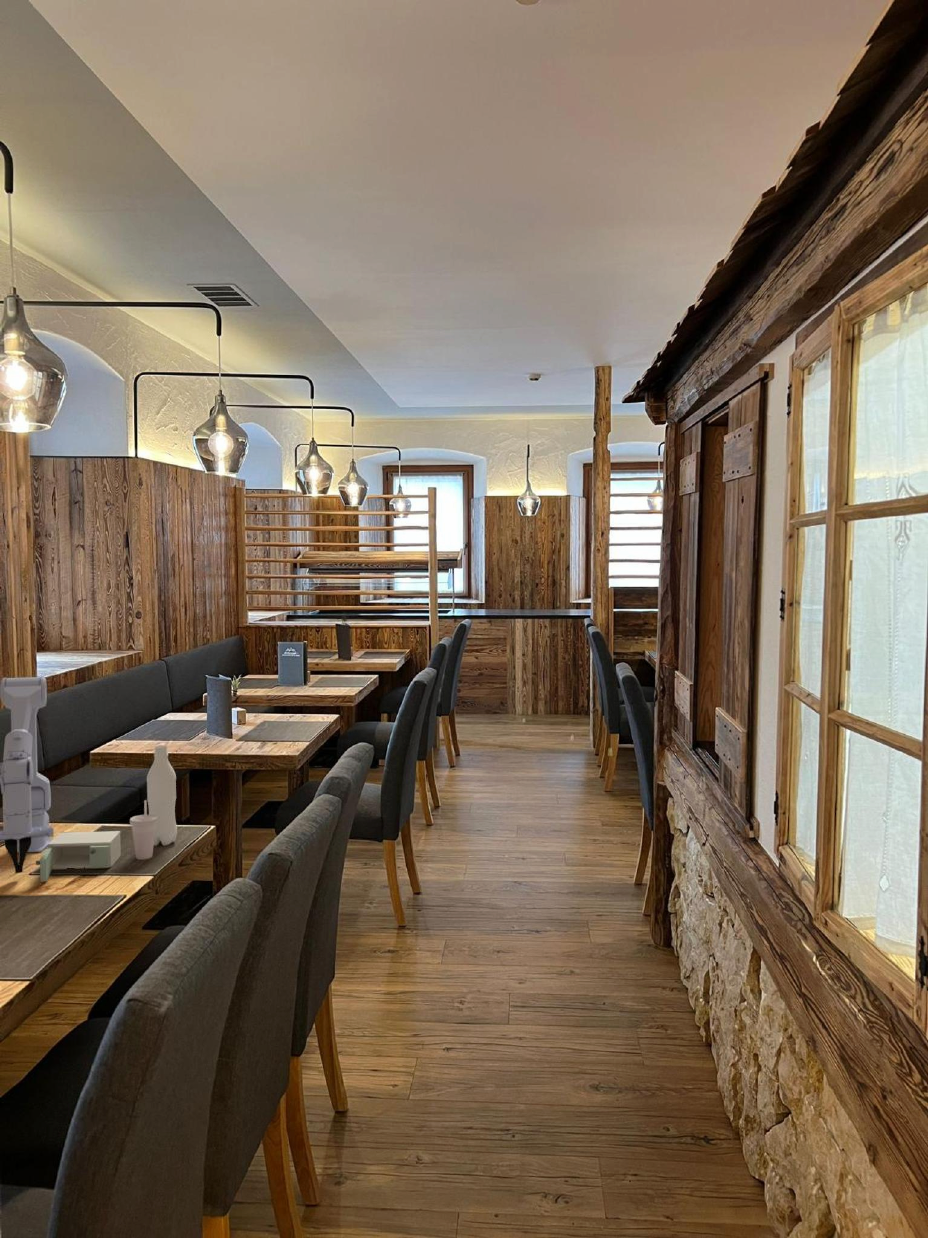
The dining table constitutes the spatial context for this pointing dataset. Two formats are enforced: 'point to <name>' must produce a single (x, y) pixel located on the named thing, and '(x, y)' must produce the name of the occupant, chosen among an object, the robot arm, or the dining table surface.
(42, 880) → the door
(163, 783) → the water bottle
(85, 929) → the dining table surface
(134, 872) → the dining table surface
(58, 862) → the cabinet
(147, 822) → the smoothie
